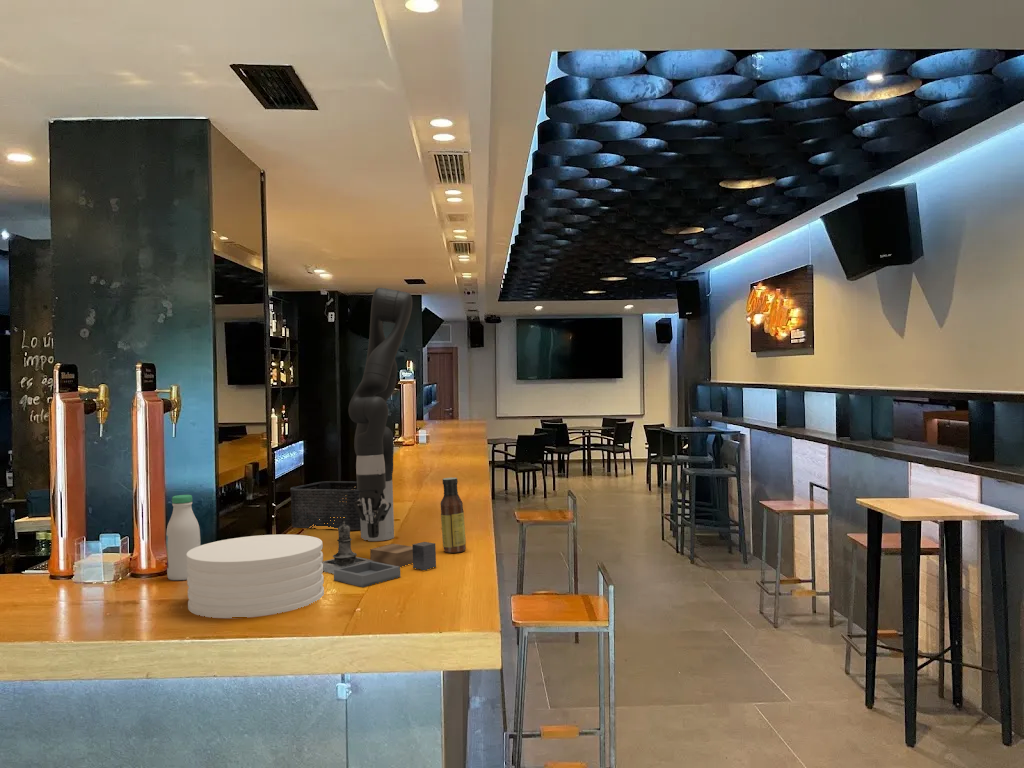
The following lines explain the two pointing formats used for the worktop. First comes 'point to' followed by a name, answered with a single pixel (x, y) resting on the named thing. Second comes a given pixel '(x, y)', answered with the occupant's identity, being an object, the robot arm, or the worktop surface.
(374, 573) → the tray
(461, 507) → the sauce bottle
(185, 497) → the milk bottle
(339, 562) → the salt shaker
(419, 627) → the worktop surface
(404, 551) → the brown rectangular block
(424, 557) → the block
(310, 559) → the plate stack
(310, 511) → the storage bin
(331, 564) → the holder
